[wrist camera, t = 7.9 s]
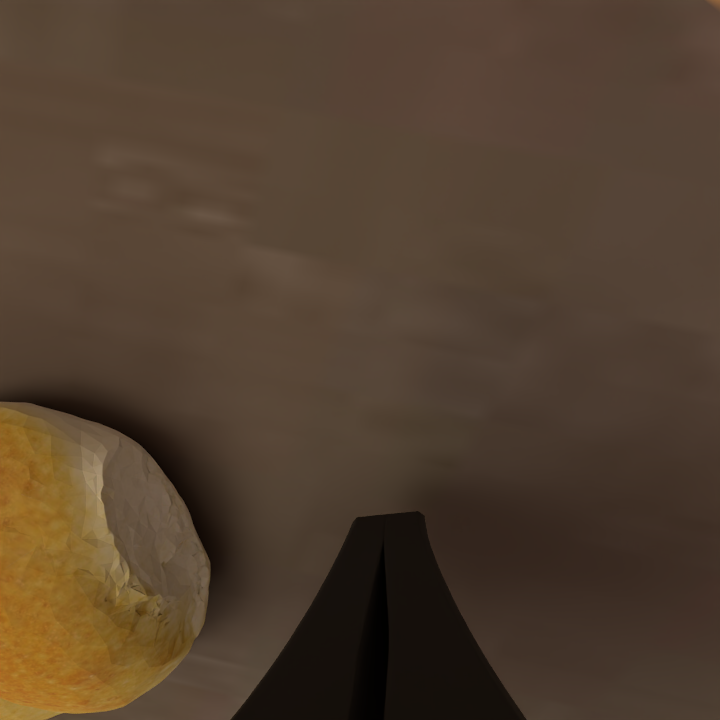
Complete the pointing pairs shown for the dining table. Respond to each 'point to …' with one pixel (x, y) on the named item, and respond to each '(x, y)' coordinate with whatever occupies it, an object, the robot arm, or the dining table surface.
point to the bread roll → (89, 567)
